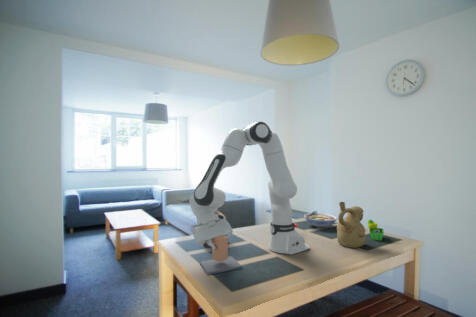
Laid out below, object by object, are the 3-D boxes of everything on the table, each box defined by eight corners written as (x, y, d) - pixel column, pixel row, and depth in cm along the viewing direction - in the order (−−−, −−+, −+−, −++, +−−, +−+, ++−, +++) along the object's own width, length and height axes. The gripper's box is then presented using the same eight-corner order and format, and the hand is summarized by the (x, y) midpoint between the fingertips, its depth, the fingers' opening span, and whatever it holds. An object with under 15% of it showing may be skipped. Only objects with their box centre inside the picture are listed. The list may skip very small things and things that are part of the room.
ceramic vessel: (374, 245, 141) (374, 201, 141) (352, 252, 131) (352, 204, 131) (347, 237, 155) (347, 197, 155) (326, 242, 145) (326, 200, 145)
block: (220, 255, 117) (220, 234, 117) (227, 259, 114) (227, 237, 114) (212, 258, 114) (212, 236, 114) (219, 262, 110) (219, 239, 110)
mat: (231, 258, 122) (231, 256, 122) (241, 268, 112) (241, 265, 112) (199, 263, 116) (199, 261, 116) (207, 274, 105) (207, 272, 105)
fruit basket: (384, 241, 147) (384, 222, 147) (367, 239, 152) (367, 221, 152) (383, 236, 157) (383, 218, 157) (367, 234, 162) (367, 217, 162)
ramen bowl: (332, 233, 163) (332, 221, 163) (299, 228, 176) (299, 216, 176) (340, 225, 184) (340, 214, 184) (309, 220, 197) (309, 210, 197)
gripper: (192, 221, 112) (205, 249, 104) (226, 215, 126) (240, 239, 119) (187, 229, 115) (199, 257, 108) (220, 222, 129) (233, 245, 122)
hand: (220, 247), depth 113 cm, fingers closed on block, 5 cm apart
